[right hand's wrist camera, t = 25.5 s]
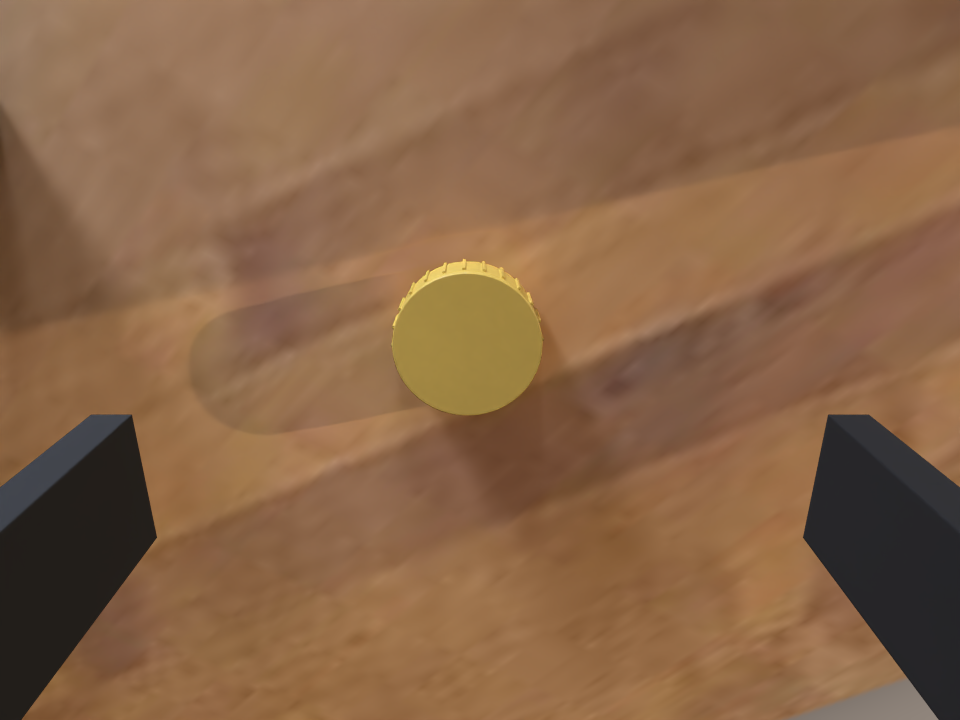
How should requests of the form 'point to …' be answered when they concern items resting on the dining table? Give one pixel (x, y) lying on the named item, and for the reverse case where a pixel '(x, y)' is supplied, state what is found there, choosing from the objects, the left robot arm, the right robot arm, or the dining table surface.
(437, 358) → the lid
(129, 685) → the dining table surface
